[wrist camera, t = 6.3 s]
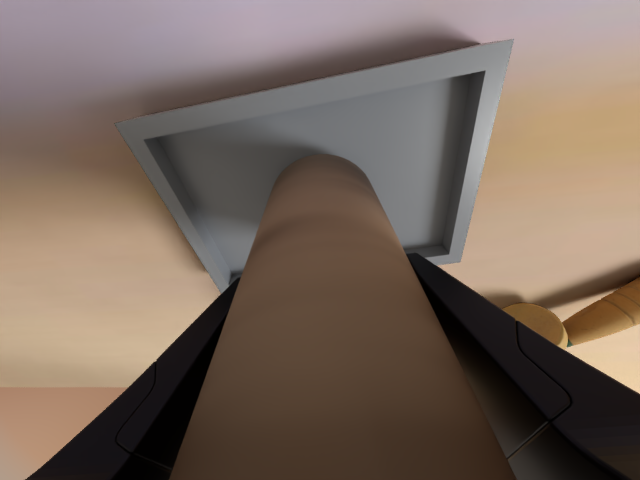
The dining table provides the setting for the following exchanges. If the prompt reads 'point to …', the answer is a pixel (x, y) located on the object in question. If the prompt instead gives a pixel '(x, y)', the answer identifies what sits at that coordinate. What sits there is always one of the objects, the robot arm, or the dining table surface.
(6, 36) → the dining table surface
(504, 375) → the robot arm
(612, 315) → the kendama
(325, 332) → the walnut peg
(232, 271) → the grey tray
